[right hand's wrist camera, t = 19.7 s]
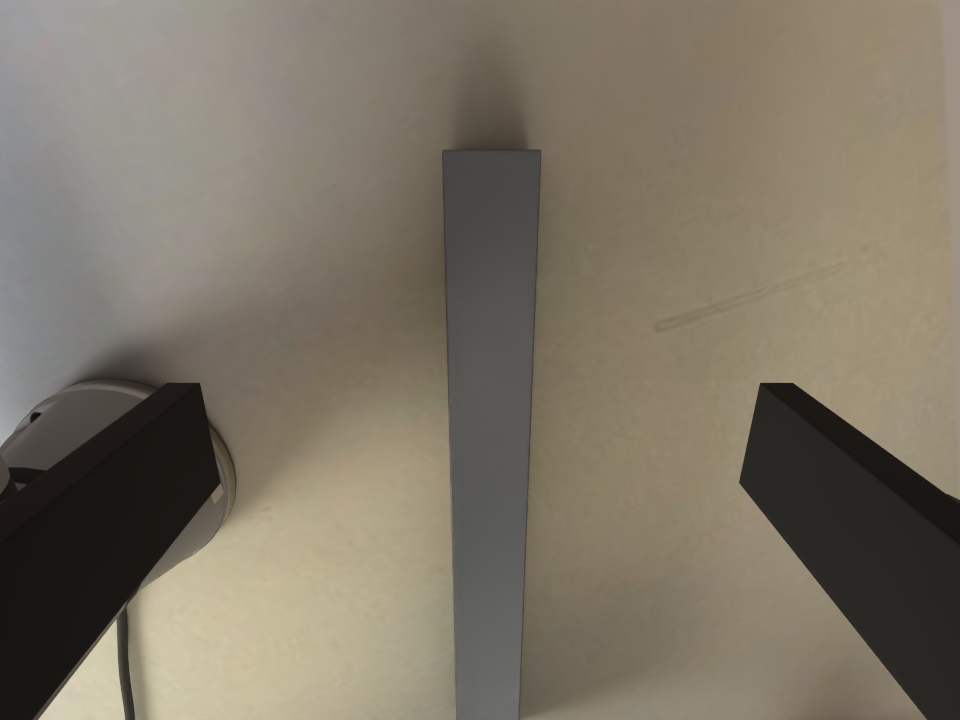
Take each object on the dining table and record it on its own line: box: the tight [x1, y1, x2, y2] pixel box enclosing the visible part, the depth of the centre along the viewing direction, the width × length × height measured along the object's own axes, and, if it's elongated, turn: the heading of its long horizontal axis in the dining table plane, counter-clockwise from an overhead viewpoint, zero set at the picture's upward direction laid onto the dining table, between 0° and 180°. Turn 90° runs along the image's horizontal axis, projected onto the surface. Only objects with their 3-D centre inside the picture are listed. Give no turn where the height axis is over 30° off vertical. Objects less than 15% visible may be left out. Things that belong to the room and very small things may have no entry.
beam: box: [442, 150, 541, 720], centre depth 37 cm, size 50×5×8 cm, turn 0°
